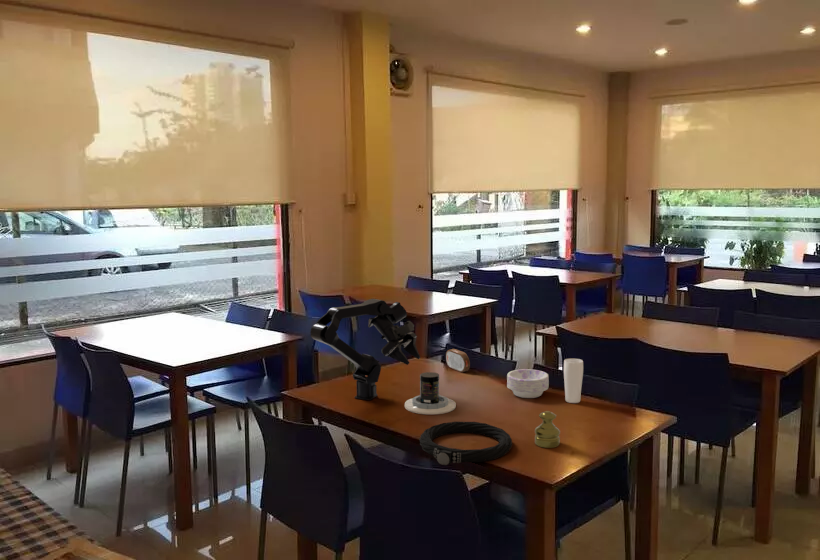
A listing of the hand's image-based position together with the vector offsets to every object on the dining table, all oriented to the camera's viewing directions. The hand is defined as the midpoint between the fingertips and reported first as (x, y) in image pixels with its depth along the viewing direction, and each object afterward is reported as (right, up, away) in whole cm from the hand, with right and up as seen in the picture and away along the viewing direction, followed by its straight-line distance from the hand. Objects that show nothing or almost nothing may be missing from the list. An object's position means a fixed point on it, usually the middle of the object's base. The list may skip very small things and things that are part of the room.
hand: (414, 361), depth 252 cm
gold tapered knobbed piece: (+40, -20, -46) cm, 64 cm away
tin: (+19, -9, +40) cm, 45 cm away
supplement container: (+5, -14, -9) cm, 18 cm away
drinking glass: (+57, -14, -5) cm, 59 cm away
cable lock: (+14, -20, -48) cm, 54 cm away
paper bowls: (+42, -13, +4) cm, 44 cm away
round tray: (+6, -15, -9) cm, 18 cm away
